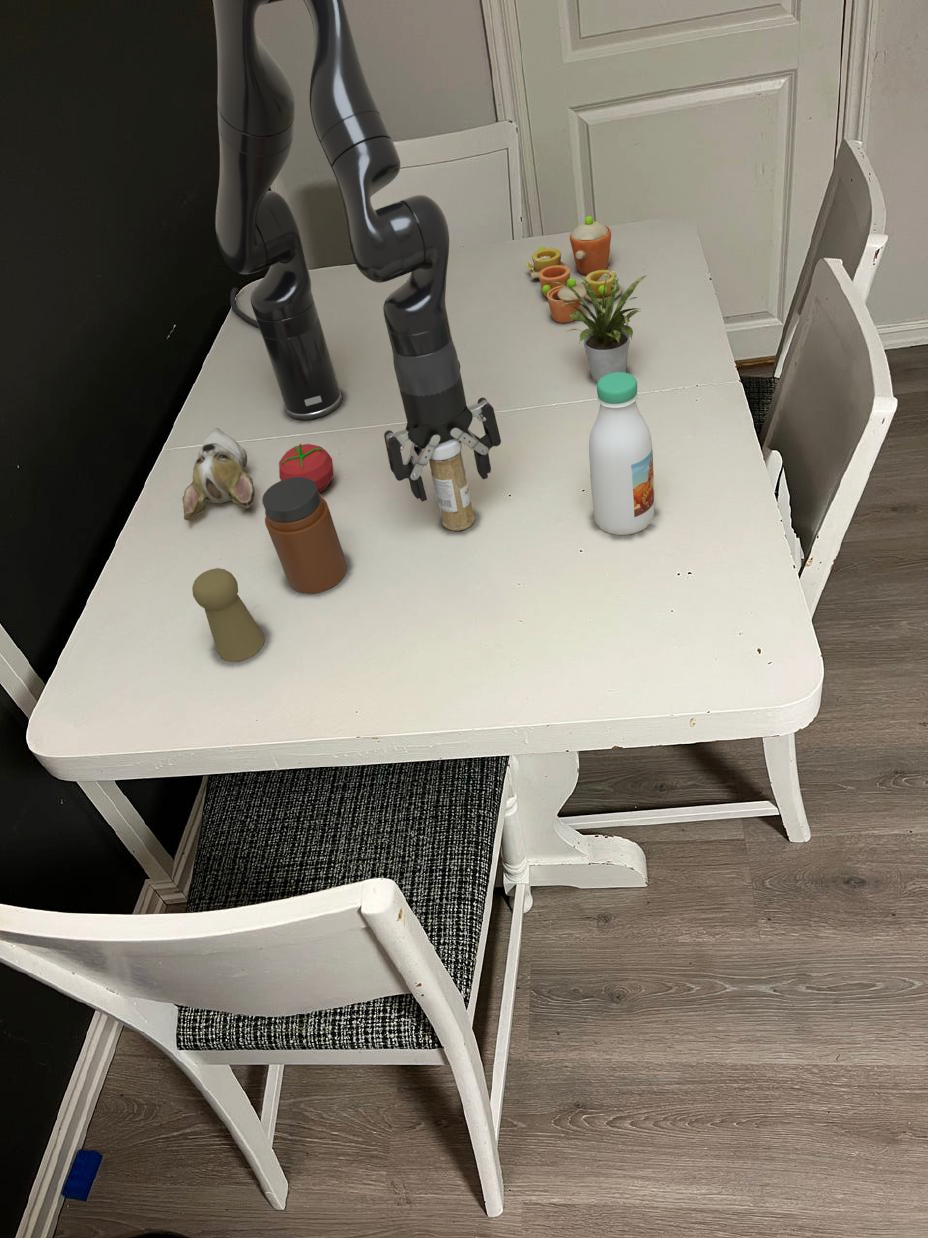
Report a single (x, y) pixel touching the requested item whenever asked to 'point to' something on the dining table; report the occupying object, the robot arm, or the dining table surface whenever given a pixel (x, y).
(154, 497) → the dining table surface
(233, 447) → the ceramic sculpture
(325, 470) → the tomato
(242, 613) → the cork
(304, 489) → the amber bottle
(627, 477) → the milk bottle
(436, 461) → the spice jar
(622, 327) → the house plant
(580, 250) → the toy tea set
